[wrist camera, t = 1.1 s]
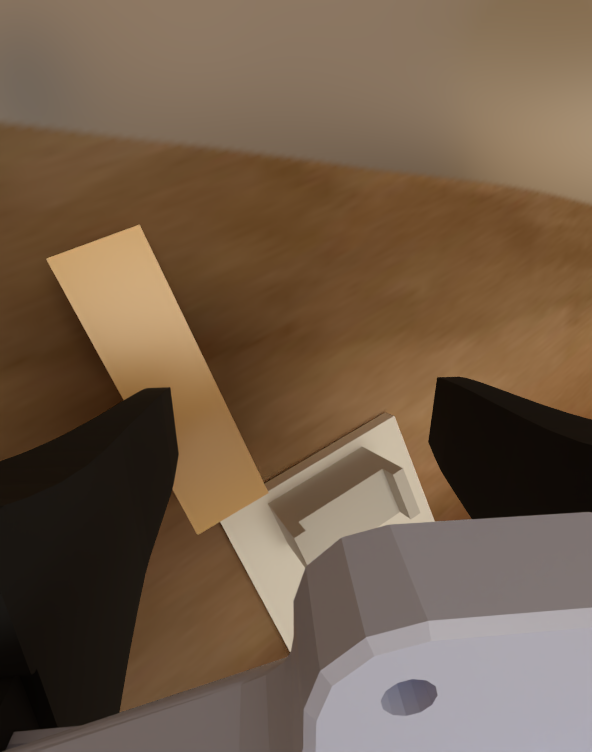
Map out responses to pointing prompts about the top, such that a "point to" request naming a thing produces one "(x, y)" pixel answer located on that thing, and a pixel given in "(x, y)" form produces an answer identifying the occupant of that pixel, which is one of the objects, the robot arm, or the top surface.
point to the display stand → (324, 510)
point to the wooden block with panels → (160, 367)
